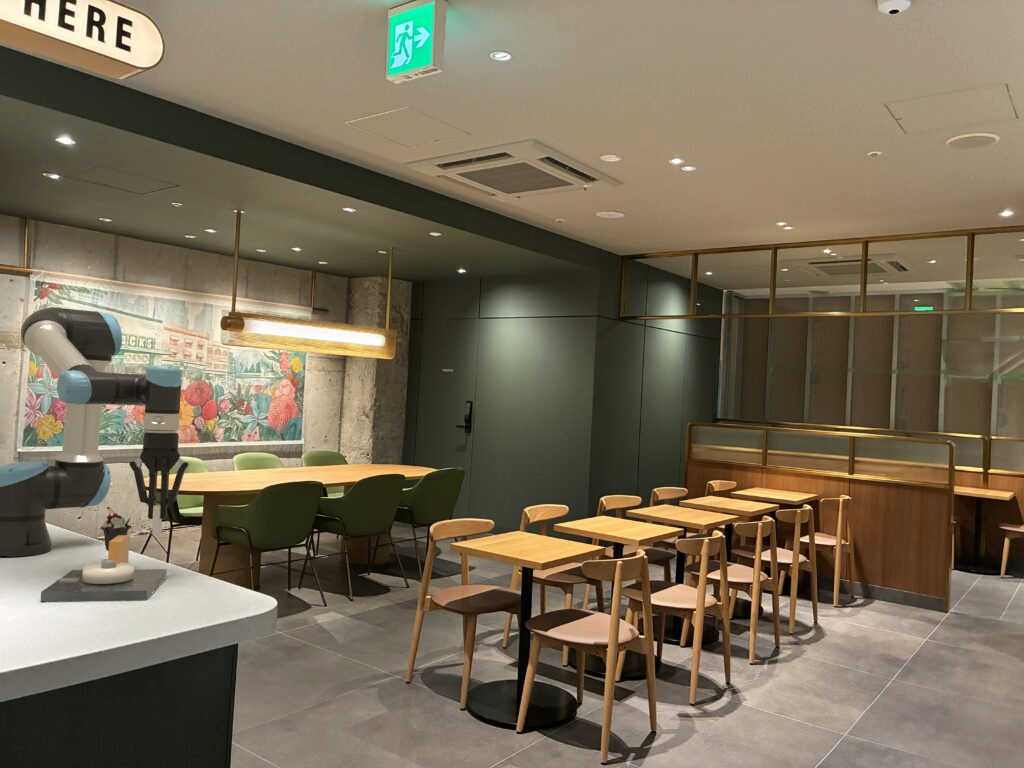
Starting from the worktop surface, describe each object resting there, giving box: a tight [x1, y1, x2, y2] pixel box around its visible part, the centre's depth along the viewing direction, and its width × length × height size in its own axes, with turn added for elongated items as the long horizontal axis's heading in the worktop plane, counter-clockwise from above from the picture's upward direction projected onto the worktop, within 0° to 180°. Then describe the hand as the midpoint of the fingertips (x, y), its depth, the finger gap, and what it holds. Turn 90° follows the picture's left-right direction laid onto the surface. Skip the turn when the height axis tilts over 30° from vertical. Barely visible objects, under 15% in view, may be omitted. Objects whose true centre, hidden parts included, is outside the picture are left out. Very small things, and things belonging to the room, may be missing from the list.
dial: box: [82, 534, 135, 584], centre depth 173 cm, size 17×10×7 cm, turn 14°
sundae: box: [100, 506, 132, 552], centre depth 189 cm, size 7×7×15 cm
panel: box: [40, 568, 167, 603], centre depth 169 cm, size 20×20×2 cm
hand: (156, 532), depth 180 cm, fingers closed
